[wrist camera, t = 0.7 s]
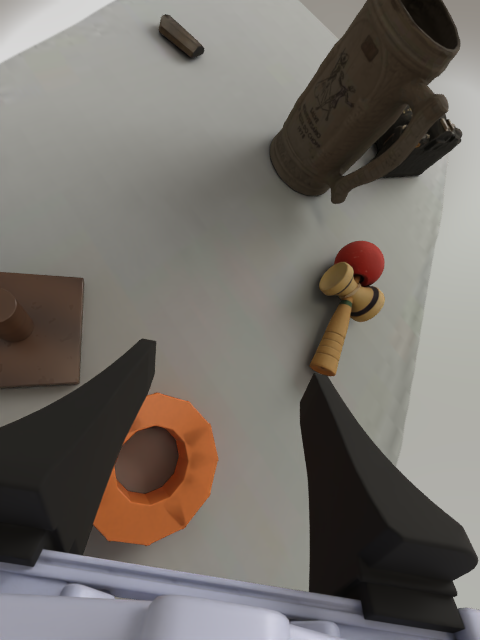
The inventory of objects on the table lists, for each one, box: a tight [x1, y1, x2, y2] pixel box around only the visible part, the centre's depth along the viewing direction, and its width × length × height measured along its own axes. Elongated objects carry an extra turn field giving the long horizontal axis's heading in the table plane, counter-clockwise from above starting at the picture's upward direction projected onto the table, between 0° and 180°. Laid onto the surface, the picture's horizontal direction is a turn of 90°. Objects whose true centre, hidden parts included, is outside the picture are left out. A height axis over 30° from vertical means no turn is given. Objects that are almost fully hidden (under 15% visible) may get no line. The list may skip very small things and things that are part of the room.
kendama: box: [309, 241, 385, 376], centre depth 36 cm, size 8×6×18 cm
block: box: [159, 14, 204, 58], centre depth 40 cm, size 4×6×2 cm, turn 58°
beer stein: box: [270, 0, 460, 204], centre depth 35 cm, size 15×11×20 cm
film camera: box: [370, 105, 462, 178], centre depth 50 cm, size 18×12×10 cm
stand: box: [0, 272, 84, 388], centre depth 21 cm, size 9×9×6 cm
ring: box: [93, 393, 218, 546], centre depth 24 cm, size 10×10×3 cm
